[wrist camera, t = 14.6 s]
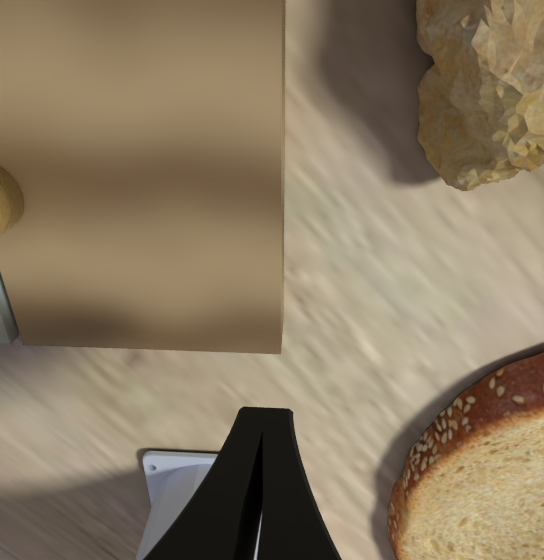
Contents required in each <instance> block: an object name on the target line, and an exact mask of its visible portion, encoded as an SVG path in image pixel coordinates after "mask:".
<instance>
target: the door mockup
mask: <svg viewBox="0 0 544 560" xmlns="http://www.w3.org/2000/svg"><path fill="white" fill-rule="evenodd" d="M284 136H285V0H0V166H1V167H3V168H4V169H5V170H7V171H8V172H9V173H10V174H11V175H12V176H13V177H14V179H15V180H16V181H17V183H18V184H19V186H20V188H21V190H22V193H23V197H24V203H25V206H24V213H23V215H22V217H21V219H20V220H19V222H18V223H17V224H15V225H14V226H13V227H11V228H10V229H9V230H7V231H6V232H5V233H3V234H2V235H0V344H11V343H12V342H13V341H14V340H15V339H16V338H17V336H18V335H19V334H20V335H21V339H22V342H23V345H46V346H73V347H100V348H127V349H154V350H182V351H209V352H236V353H263V354H281V343H282V331H283V291H284Z"/></svg>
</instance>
